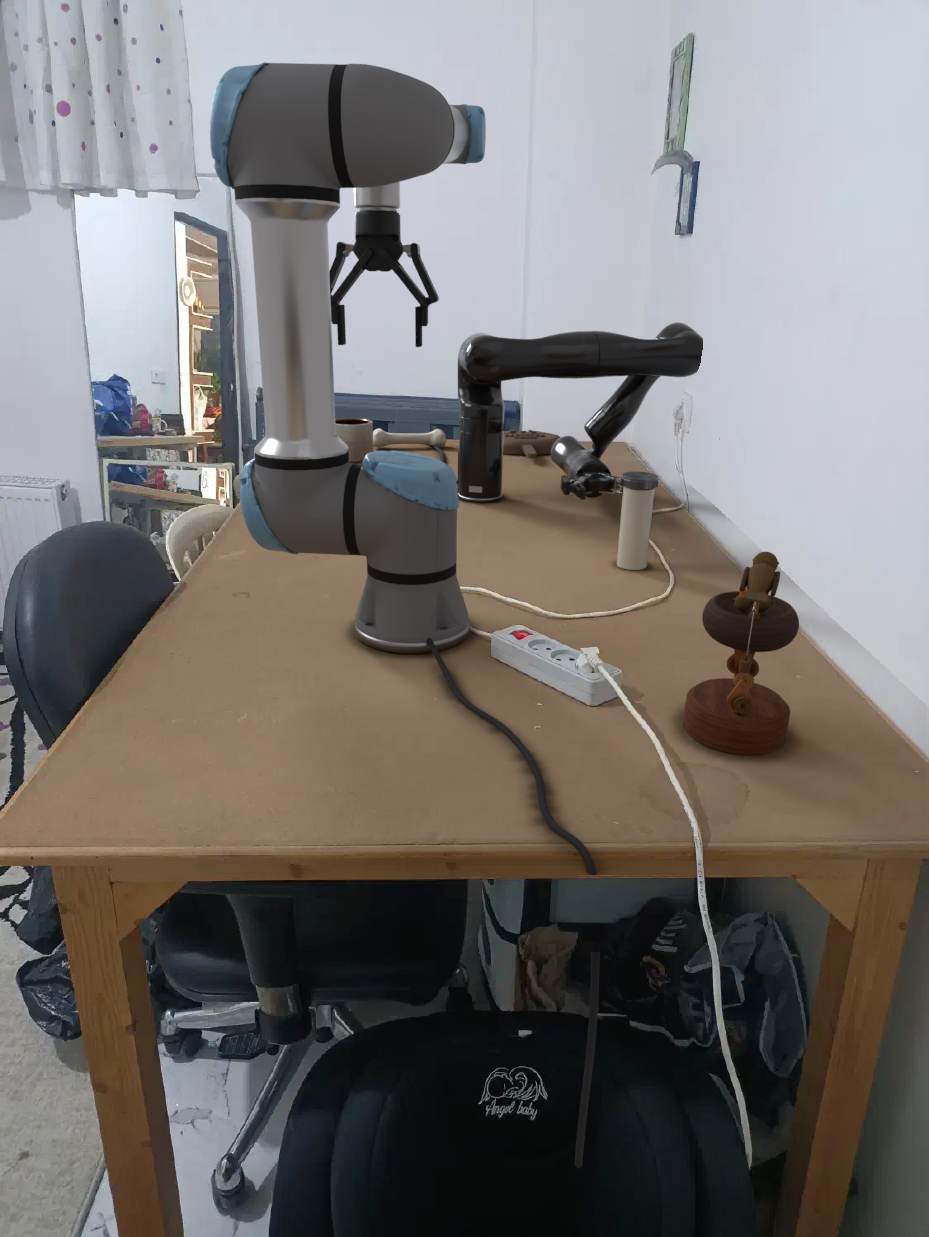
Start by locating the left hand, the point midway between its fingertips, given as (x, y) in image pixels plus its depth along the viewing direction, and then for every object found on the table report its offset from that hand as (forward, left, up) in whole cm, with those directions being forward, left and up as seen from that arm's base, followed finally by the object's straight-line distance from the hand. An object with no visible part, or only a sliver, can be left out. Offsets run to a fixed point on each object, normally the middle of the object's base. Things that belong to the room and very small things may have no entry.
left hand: (380, 345), depth 147 cm
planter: (+57, +19, -32) cm, 69 cm away
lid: (-17, -45, -18) cm, 51 cm away
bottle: (-17, -45, -32) cm, 58 cm away
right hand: (+5, -41, -26) cm, 49 cm away
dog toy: (+76, +8, -32) cm, 83 cm away
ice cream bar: (+74, -24, -32) cm, 84 cm away
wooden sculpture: (-70, -51, -32) cm, 93 cm away
